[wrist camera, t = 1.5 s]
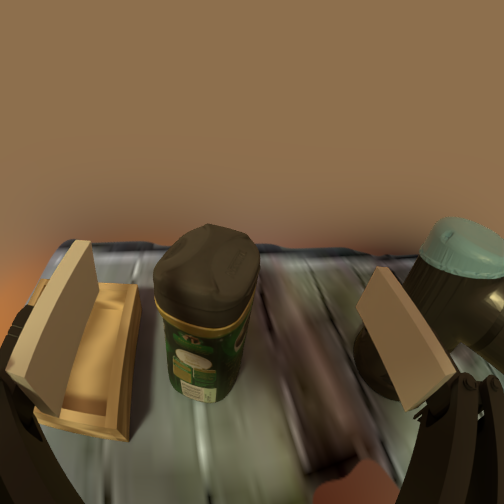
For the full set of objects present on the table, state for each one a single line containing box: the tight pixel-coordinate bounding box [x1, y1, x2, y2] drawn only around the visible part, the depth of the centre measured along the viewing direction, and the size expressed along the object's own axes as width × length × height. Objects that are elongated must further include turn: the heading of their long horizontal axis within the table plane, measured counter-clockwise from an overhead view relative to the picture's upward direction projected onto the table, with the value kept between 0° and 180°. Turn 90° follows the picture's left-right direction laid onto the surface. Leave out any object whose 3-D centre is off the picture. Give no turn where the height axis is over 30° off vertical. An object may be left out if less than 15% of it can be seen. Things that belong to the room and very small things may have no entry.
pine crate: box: [28, 279, 142, 442], centre depth 27 cm, size 16×20×5 cm
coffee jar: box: [153, 224, 260, 403], centre depth 26 cm, size 10×8×19 cm
